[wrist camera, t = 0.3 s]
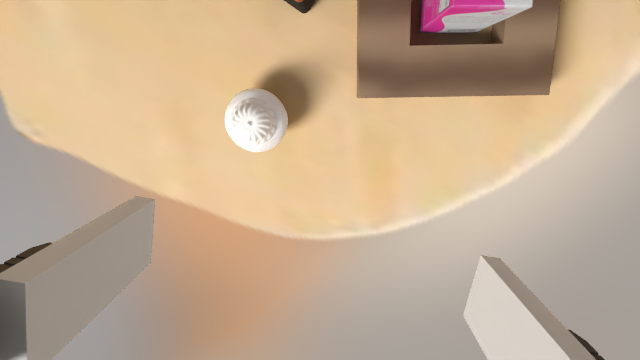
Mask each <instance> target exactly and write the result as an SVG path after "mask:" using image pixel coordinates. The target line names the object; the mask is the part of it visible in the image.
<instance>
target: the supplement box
mask: <svg viewBox="0 0 640 360" xmlns="http://www.w3.org/2000/svg"><path fill="white" fill-rule="evenodd" d="M532 4H533V0H421V14H420V32H423V33H476V32H478V31H480V30H482V29H484V28H486V27H489V26H491V25H493V24H495V23H498V22H500V21H502V20H505V19H507V18H509V17H511V16H513V15H515V14H518V13H520V12H522V11H524V10H527V9H529V8H531V7H532Z"/></svg>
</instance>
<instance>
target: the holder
mask: <svg viewBox="0 0 640 360" xmlns="http://www.w3.org/2000/svg"><path fill="white" fill-rule="evenodd" d="M559 9H560V0H533V4H532V7H531V8H529V9H527V10H524V11H522V12H520V13H518V14H515V15H513V16H511V17H509V18H507V19H505V20H502V21H500V22H498V23H495V24H493V25H492V37H491V44H463V45H417V46H410V22H411V0H357V97H358V98H389V97H448V96H507V95H549V92H550V84H551V75H552V67H553V59H554V50H555V42H556V34H557V25H558V17H559Z"/></svg>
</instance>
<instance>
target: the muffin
mask: <svg viewBox="0 0 640 360" xmlns="http://www.w3.org/2000/svg"><path fill="white" fill-rule="evenodd" d="M287 125H288V116H287V112H286V110H285V108H284V106H283V104H282V103H281V101H280V100H279V99H278V98H277V97H276V96H275V95H273V94H272V93H270V92H269V91H266V90H263V89H247V90H244V91H242V92H240V93H238V94H237V95H236V96H235V97H234V98H233V99H232V100H231V101H230V103H229V105H228V107H227V109H226V112H225V127H226V130H227V132H228V134H229V136H230V137H231V139H232V140H233V141H234V142H235V143H236V144H237V145H238V146H240V147H241V148H243V149H245V150H248V151H252V152H262V151H267V150H269V149H271V148H273V147H275V146H276V145H277V144H278V143H279V142H280V141H281V140H282V138H283V136H284V134H285V132H286V129H287Z"/></svg>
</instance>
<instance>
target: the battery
mask: <svg viewBox="0 0 640 360" xmlns="http://www.w3.org/2000/svg"><path fill="white" fill-rule="evenodd" d="M284 1H286V2H287V3H288V4H290V5H291V6H293V7H294V8H296V9H297V10H299V11H300V12H302V13H307V12H308V11H309V9H310V7H311V6H312V4H313V2H314V1H315V0H284Z"/></svg>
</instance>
